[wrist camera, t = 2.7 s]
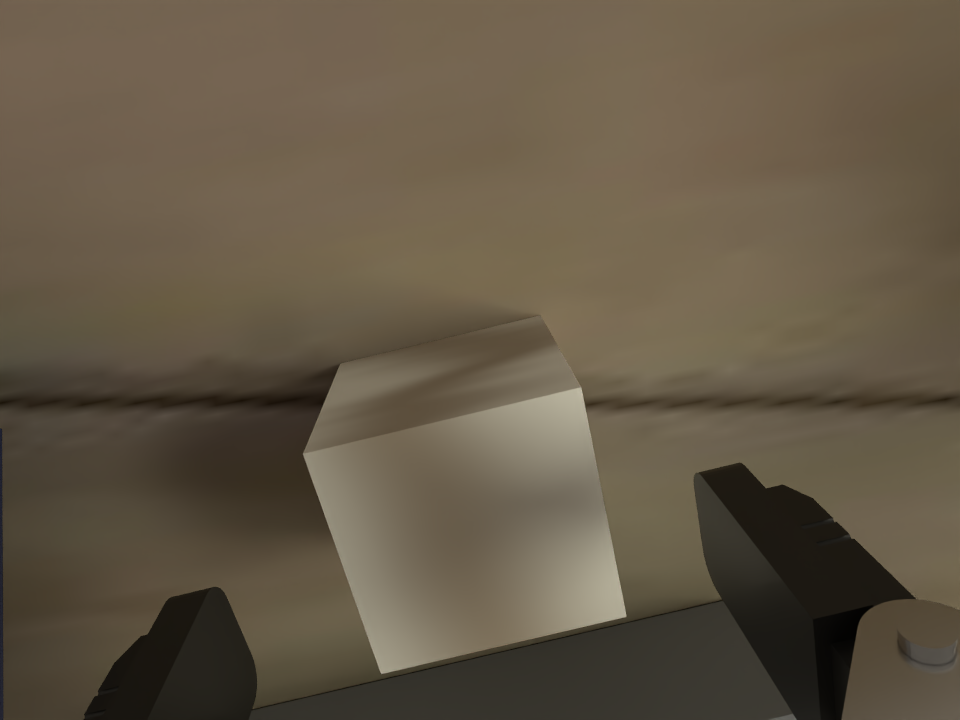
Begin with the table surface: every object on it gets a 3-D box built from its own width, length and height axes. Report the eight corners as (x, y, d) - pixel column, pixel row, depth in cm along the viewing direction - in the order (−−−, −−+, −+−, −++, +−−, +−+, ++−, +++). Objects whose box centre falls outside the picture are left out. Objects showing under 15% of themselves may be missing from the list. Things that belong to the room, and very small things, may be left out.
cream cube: (540, 314, 17) (581, 387, 12) (577, 490, 18) (626, 616, 14) (340, 362, 17) (302, 454, 12) (395, 533, 18) (380, 674, 14)
